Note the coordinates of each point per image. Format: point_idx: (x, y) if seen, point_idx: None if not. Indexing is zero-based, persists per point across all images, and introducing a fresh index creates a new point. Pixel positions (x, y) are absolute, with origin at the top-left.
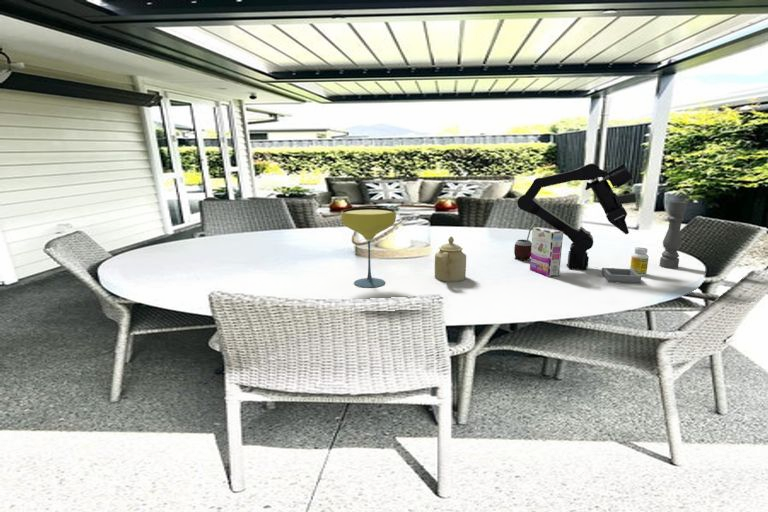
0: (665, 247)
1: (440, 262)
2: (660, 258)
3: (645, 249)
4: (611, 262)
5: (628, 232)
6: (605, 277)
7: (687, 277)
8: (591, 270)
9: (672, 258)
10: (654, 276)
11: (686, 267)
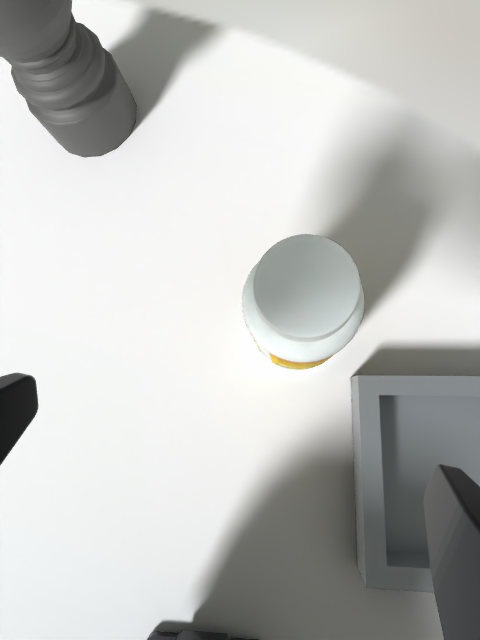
0: (34, 56)
1: None
2: (61, 129)
3: (343, 257)
4: None
5: (466, 479)
6: None
7: (310, 93)
8: (261, 605)
9: (104, 72)
10: None
11: None
